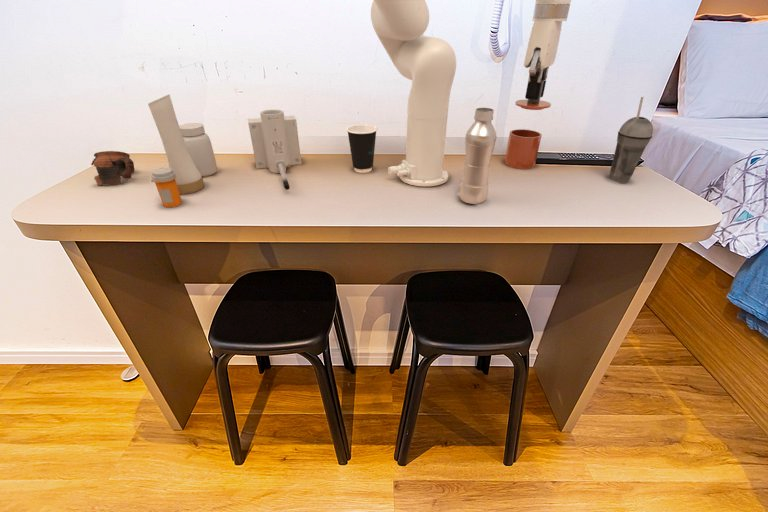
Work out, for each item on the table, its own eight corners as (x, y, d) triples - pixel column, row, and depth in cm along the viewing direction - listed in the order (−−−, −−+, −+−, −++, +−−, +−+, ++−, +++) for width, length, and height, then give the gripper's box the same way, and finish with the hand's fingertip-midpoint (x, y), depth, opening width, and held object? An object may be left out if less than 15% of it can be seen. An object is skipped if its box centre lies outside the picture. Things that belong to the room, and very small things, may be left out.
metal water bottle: (488, 197, 90) (502, 107, 79) (484, 209, 84) (499, 114, 73) (460, 193, 91) (471, 105, 80) (455, 205, 86) (465, 112, 75)
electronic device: (299, 158, 112) (292, 104, 104) (314, 192, 92) (307, 128, 83) (255, 162, 109) (245, 107, 101) (261, 199, 88) (249, 133, 80)
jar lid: (531, 112, 95) (536, 83, 92) (507, 105, 102) (512, 78, 98) (557, 109, 98) (564, 81, 95) (533, 102, 105) (538, 76, 101)
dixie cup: (380, 173, 102) (380, 131, 96) (350, 176, 101) (349, 133, 95) (374, 163, 109) (373, 123, 103) (346, 165, 107) (344, 125, 101)
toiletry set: (194, 168, 105) (171, 87, 94) (222, 167, 105) (202, 86, 94) (150, 208, 84) (115, 110, 73) (185, 208, 84) (155, 110, 73)
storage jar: (518, 170, 104) (524, 139, 100) (498, 161, 110) (503, 131, 106) (541, 166, 107) (548, 135, 102) (520, 157, 113) (526, 128, 109)
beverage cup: (639, 186, 95) (672, 101, 84) (607, 184, 96) (636, 99, 86) (629, 175, 101) (659, 94, 90) (599, 173, 102) (625, 93, 92)
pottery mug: (85, 187, 95) (80, 153, 94) (122, 190, 104) (118, 159, 103) (119, 180, 91) (114, 145, 90) (155, 184, 100) (151, 151, 99)
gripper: (544, 12, 96) (529, 91, 106) (522, 13, 85) (508, 101, 95) (576, 12, 93) (557, 94, 103) (557, 14, 81) (538, 105, 92)
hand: (534, 97), depth 99 cm, fingers closed on jar lid, 3 cm apart
